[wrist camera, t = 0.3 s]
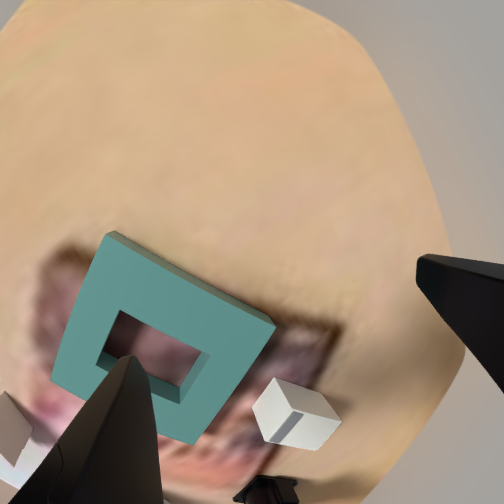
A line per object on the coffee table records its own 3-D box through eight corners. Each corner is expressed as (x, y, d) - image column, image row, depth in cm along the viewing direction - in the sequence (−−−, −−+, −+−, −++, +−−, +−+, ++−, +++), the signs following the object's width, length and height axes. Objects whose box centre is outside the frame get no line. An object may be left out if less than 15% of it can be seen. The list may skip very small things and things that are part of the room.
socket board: (191, 428, 24) (193, 445, 22) (59, 366, 21) (50, 380, 18) (267, 315, 24) (276, 327, 22) (114, 230, 20) (105, 233, 18)
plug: (298, 420, 27) (317, 452, 22) (251, 406, 25) (265, 442, 20) (320, 392, 27) (343, 422, 22) (274, 376, 25) (292, 409, 20)
